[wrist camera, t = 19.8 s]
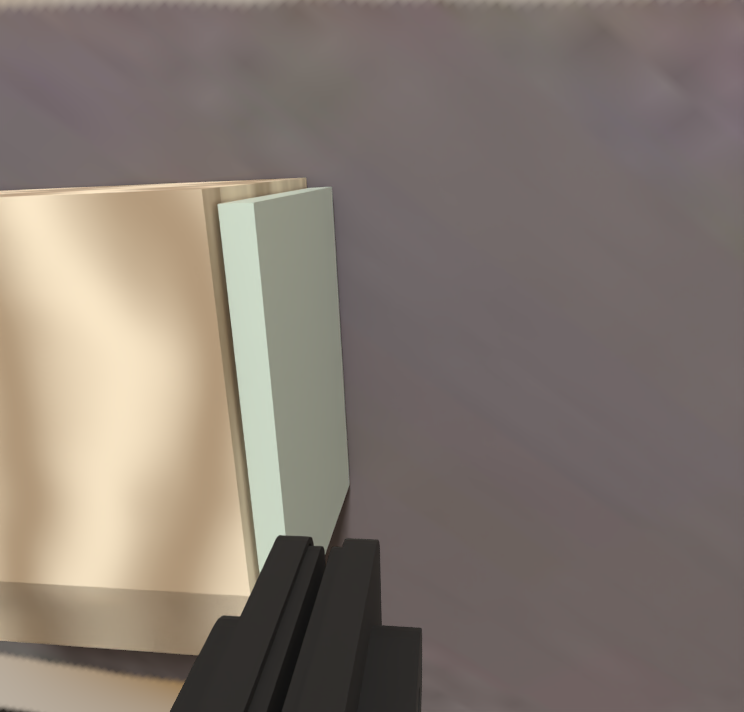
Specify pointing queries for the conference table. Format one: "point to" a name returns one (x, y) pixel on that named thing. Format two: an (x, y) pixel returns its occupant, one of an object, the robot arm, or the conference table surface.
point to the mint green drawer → (288, 360)
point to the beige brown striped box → (121, 418)
